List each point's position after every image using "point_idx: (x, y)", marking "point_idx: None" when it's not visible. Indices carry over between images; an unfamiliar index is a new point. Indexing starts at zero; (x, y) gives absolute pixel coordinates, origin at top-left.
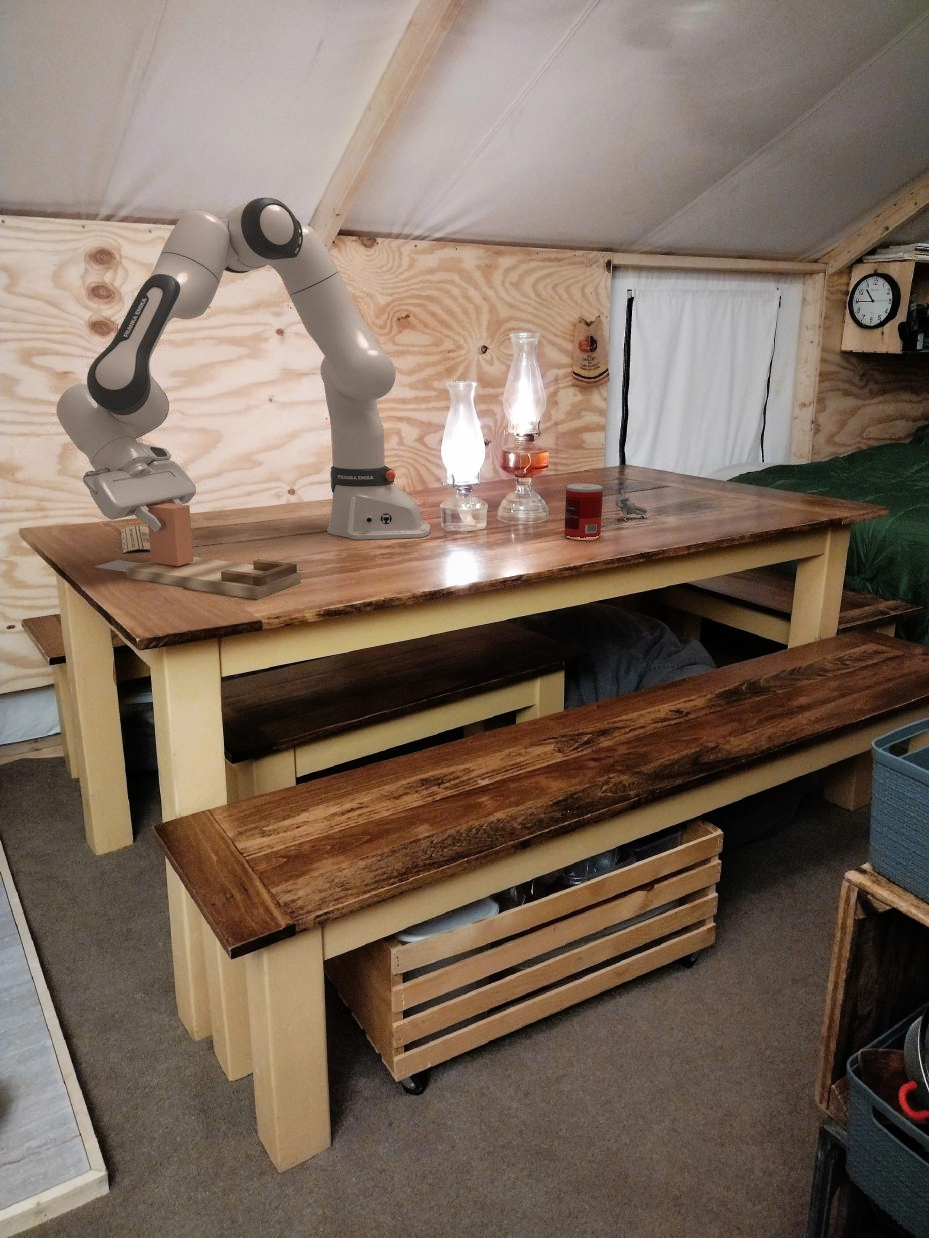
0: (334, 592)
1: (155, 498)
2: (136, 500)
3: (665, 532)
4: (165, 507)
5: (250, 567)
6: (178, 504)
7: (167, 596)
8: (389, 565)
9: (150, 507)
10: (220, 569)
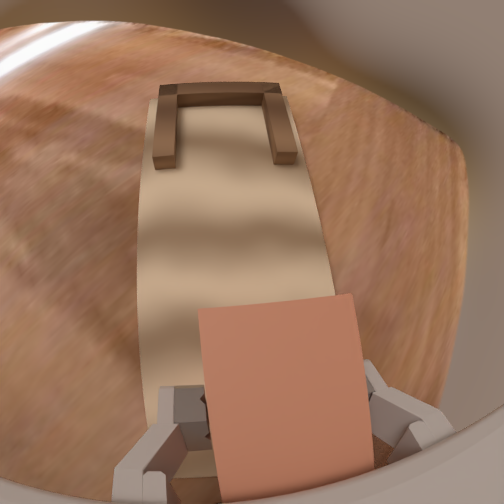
0: (182, 63)
1: (364, 483)
2: (494, 430)
3: None
4: (350, 374)
5: (163, 184)
6: (218, 398)
7: (375, 247)
8: (16, 100)
9: (371, 470)
10: (219, 229)
